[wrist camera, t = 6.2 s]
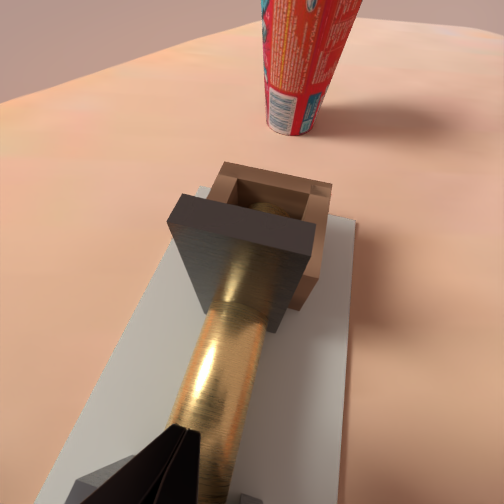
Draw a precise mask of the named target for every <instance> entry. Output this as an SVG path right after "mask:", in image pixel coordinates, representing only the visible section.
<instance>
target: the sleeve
mask: <svg viewBox="0 0 504 504" xmlns="http://www.w3.org/2000/svg"><path fill="white" fill-rule="evenodd" d="M134 456H135V455H130V456H128V457H126V458H123V459H121V460H119V461H117V462H114V463H112V464H110V465H107V466H105V467H103V468H101V469H98V470H96V471H94V472H92V473H89V474H87V475H85V476H83V477H80V478H78V479H76V480H75V482H74V484H73V487H72V489H71V491H70V493H69V495H68V497H67V499H66V501H65V503H64V504H80V503H81V502H82V501H83V500H84V499H86V498H87V497H88V496H89V495H90V494H91V493H93V492H94V491H95V490H96V489H97V488H98V487H100V486H101V485H102V484H103V483H104V482H105V481H107V480H108V479H109V478H110V477H111V476H112V475H113V474H115V473H116V472H117V471H118V470H119V469H120V468H122V467H123V466H124V465H125V464H126V463H127V462H129V461H130V460H131V459H132V458H133V457H134ZM239 504H263V501H262V500H260V499H258V498H255V497H252V496H249V495H246V494H243V493H241V495H240V500H239Z"/></svg>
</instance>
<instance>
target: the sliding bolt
mask: <svg viewBox="0 0 504 504" xmlns="http://www.w3.org/2000/svg"><path fill="white" fill-rule="evenodd" d="M167 224H168V227H169V229H170V231H171V234H172V236H173V239H174V241H175V244H176V246H177V248H178V251H179V253H180V256H181V258H182V261H183V263H184V266H185V268H186V270H187V273H188V275H189V278H190V280H191V283H192V285H193V287H194V290H195V292H196V295H197V297H198V300H199V302H200V305H201V307H202V309H203V312H204V314H206V318H205V320H204V323H203V326H202V328H201V331H200V334H199V337H198V339H197V342H196V345H195V348H194V350H193V353H192V356H191V358H190V361H189V364H188V367H187V369H186V372H185V375H184V377H183V380H182V383H181V386H180V388H179V391H178V394H177V397H176V399H175V402H174V405H173V407H172V410H171V413H170V416H169V418H168V421H167V424H166V426H165V429H164V431H165V430H166V429H167V428H168V427H169V426H170V425H172V424H174V423H175V424H179V425H182V426H185V427H186V429H188V428H191V429H194V430H197V431H200V433H201V446H200V468H199V489H198V504H226V501H227V497H228V493H229V488H230V484H231V480H232V476H233V471H234V467H235V463H236V458H237V454H238V450H239V446H240V441H241V437H242V433H243V428H244V424H245V420H246V416H247V411H248V407H249V403H250V398H251V394H252V390H253V386H254V381H255V377H256V373H257V368H258V364H259V360H260V355H261V351H262V347H263V343H264V338H265V334H266V331H267V332H271V333H274V334H276V331H277V329H278V327H279V325H280V323H281V321H282V318H283V316H284V314H285V312H286V310H287V308H288V305H289V303H290V301H291V299H292V297H293V295H294V292H295V290H296V288H297V286H298V284H299V282H300V279H301V277H302V275H303V273H304V271H305V269H306V266H307V264H308V262H309V260H310V258H311V254H312V248H313V242H314V236H315V230H316V224H315V223H310V222H306V221H301V220H297V219H293V218H290V217H289V215H288V214H287V213H286V212H285V211H284V210H283V209H282V208H280V207H278V206H276V205H273V204H270V203H254V204H251V205H250V206H248V207H247V208H244V207H240V206H235V205H231V204H226V203H222V202H218V201H213V200H209V199H204V198H200V197H195V196H191V195H187V194H182V195H181V197H180V198H179V200H178V202H177V204H176V206H175V207H174V209H173V211H172V213H171V214H170V216H169V218H168V220H167Z"/></svg>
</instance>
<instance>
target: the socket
mask: <svg viewBox="0 0 504 504" xmlns="http://www.w3.org/2000/svg"><path fill="white" fill-rule="evenodd" d="M331 190H332V184H330V183H325V182H320V181H316V180H311V179H306V178H301V177H296V176H292V175H287V174H282V173H277V172H272V171H268V170H263V169H258V168H253V167H248V166H244V165H239V164H234V163H229V162H224V163H223V165H222V167H221V169H220V172H219V174H218V176H217V178H216V180H215V182H214V184H213V186H212V188H211V190H210V192H209V194H208V196H207V198H206V199H209V200H213V201H218V202H222V203H226V204H231V205H235V206H240V207H244V208H247V207H248V206H250V205H251V204H254V203H270V204H273V205H276V206H278V207H280V208H282V209H283V210H284V211H285V212H286V213H287V214H288V215H289V217H290V218H293V219H297V220H301V221H306V222H310V223H315V224H316V230H315V236H314V242H313V248H312V254H311V258H310V260H309V262H308V264H307V266H306V269H305V271H304V273H303V275H302V277H301V279H300V282H299V284H298V286H297V288H296V290H295V292H294V295H293V297H292V299H291V301H290V303H289V305H288V308H289V309H293V310H297V311H300V310H301V308H302V306H303V305H304V303H305V301H306V300H307V298H308V296H309V295H310V293H311V291H312V290H313V288H314V286H315V285H316V283H317V281H318V280H319V276H320V269H321V262H322V255H323V248H324V241H325V233H326V226H327V219H328V212H329V205H330V198H331Z"/></svg>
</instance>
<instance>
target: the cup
mask: <svg viewBox="0 0 504 504" xmlns="http://www.w3.org/2000/svg"><path fill="white" fill-rule="evenodd" d="M361 3H362V0H261V6H262V35H263V60H264V82H265V104H266V122H267V124H268V126H269V127H270V128H271V129H272V130H274V131H276V132H277V133H280V134H284V135H290V136H296V135H302V134H305V133H307V132H308V131H310V130H311V129H312V127H313V125H314V122H315V120H316V117H317V114H318V112H319V109H320V107H321V104H322V102H323V99H324V97H325V94H326V92H327V89H328V87H329V84H330V82H331V79H332V76H333V74H334V71H335V69H336V66H337V64H338V61H339V59H340V56H341V53H342V51H343V48H344V46H345V43H346V41H347V38H348V36H349V33H350V31H351V28H352V26H353V23H354V21H355V18H356V15H357V13H358V10H359V8H360V5H361Z"/></svg>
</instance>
